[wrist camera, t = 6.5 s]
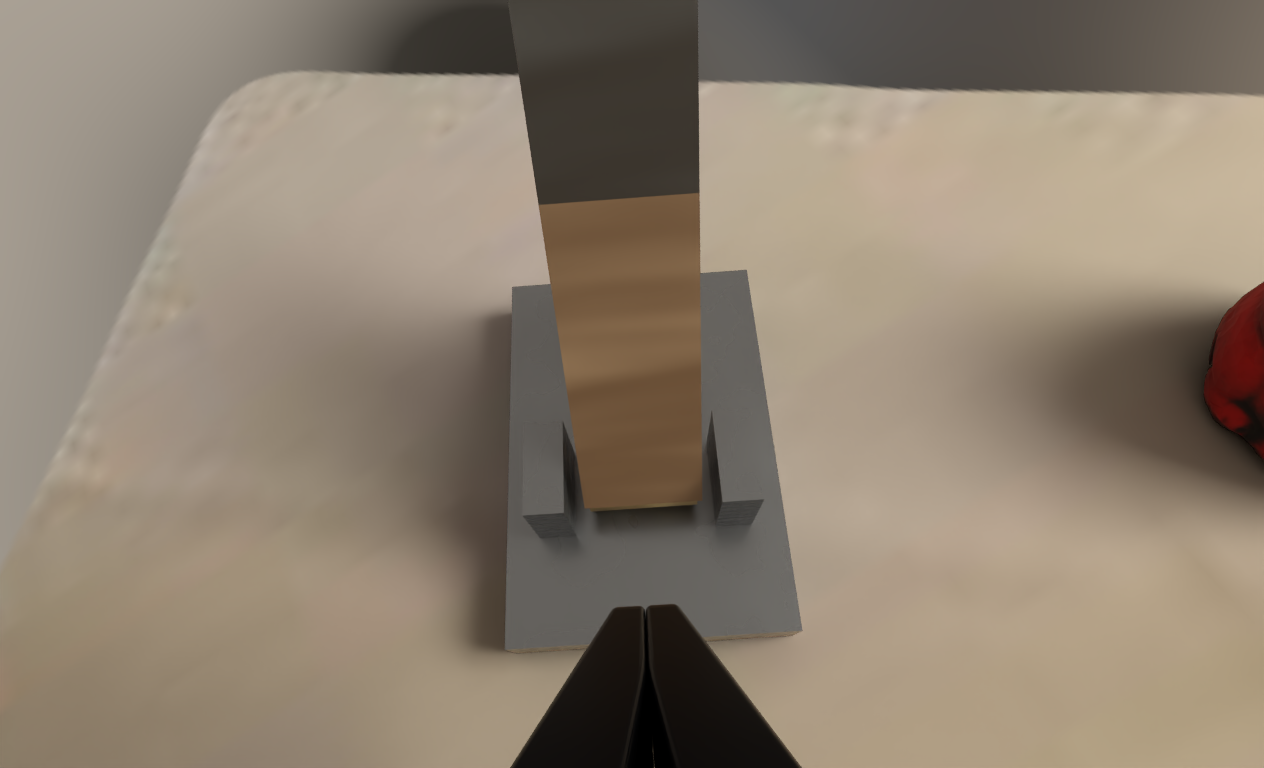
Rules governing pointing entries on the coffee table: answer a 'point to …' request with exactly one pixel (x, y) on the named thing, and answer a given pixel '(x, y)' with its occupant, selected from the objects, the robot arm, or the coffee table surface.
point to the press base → (645, 537)
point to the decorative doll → (1239, 370)
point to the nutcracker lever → (621, 234)
